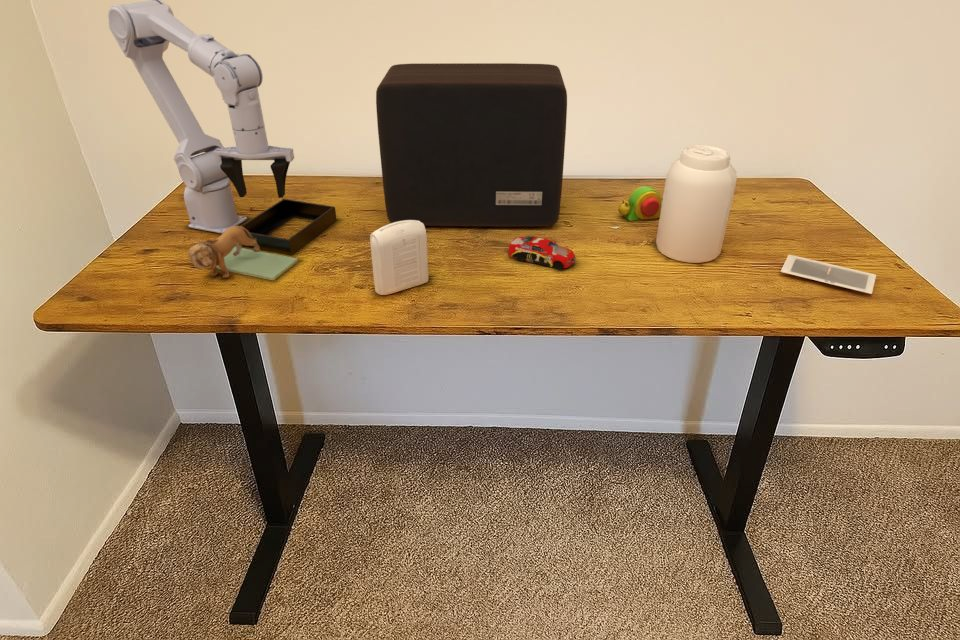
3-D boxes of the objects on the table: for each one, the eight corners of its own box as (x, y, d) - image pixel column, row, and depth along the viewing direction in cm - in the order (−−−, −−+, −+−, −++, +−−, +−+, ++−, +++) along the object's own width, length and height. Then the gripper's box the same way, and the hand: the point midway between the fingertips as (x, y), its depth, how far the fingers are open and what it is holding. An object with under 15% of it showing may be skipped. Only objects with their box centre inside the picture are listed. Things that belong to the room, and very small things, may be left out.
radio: (553, 197, 150) (562, 61, 134) (559, 231, 136) (569, 82, 119) (398, 196, 151) (387, 61, 135) (386, 229, 137) (373, 82, 120)
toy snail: (610, 214, 142) (614, 186, 139) (687, 202, 147) (692, 175, 144) (625, 226, 137) (629, 197, 134) (704, 213, 142) (709, 185, 139)
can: (642, 241, 131) (657, 144, 120) (693, 231, 135) (712, 136, 124) (680, 269, 122) (699, 167, 111) (734, 257, 126) (758, 157, 114)
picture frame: (237, 245, 131) (233, 230, 129) (286, 212, 144) (283, 198, 142) (291, 255, 127) (289, 240, 125) (337, 220, 140) (335, 206, 139)
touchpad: (787, 259, 125) (790, 249, 124) (874, 279, 118) (878, 269, 117) (779, 276, 119) (781, 266, 118) (869, 299, 113) (873, 288, 111)
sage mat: (194, 264, 124) (193, 261, 124) (222, 246, 131) (221, 243, 130) (273, 280, 119) (273, 277, 119) (298, 261, 125) (297, 258, 125)
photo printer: (421, 272, 121) (417, 211, 114) (432, 282, 118) (429, 220, 111) (371, 288, 116) (363, 225, 110) (381, 299, 113) (375, 235, 107)
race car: (579, 261, 125) (580, 242, 123) (569, 273, 121) (570, 254, 119) (516, 246, 130) (517, 228, 128) (504, 258, 126) (505, 239, 124)
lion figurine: (219, 293, 117) (200, 255, 110) (196, 287, 119) (176, 249, 112) (267, 243, 126) (251, 205, 119) (245, 238, 128) (229, 200, 121)
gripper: (293, 120, 123) (304, 188, 130) (217, 119, 123) (233, 187, 131) (282, 131, 117) (295, 202, 124) (203, 131, 117) (220, 201, 125)
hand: (262, 195), depth 127 cm, fingers open, 7 cm apart
